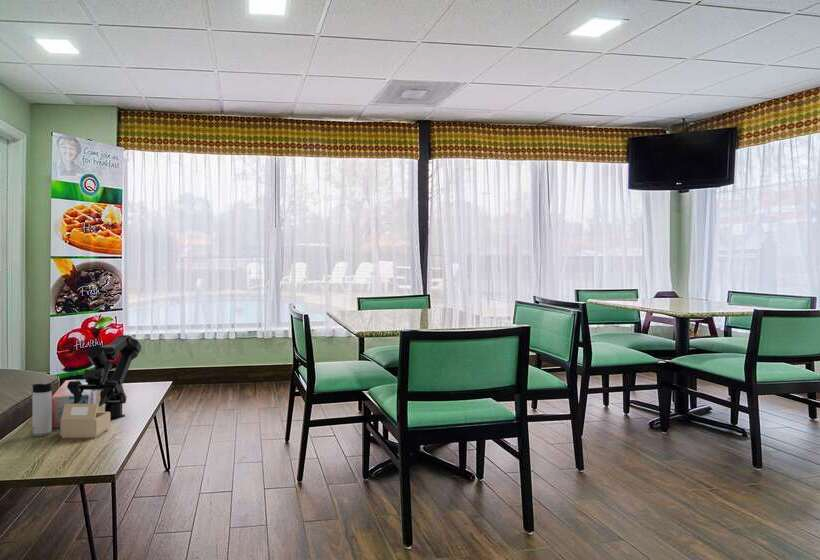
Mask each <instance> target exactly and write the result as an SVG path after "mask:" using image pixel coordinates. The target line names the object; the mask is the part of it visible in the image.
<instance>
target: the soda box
mask: <svg viewBox="0 0 820 560" xmlns="http://www.w3.org/2000/svg"><path fill="white" fill-rule="evenodd" d="M85 380H86V379H85V378H82V379H68V380H65V381H64V382H63V383H62V384H61V385H60V386H59V388H58V389H57V390H56V392H55V393H54V394H53V395H52V429H53V428H60V420H61V418H62V414H63V409H64V405H65V404H74V395H73V394H71V392H70V390H69V389H68V387H67V385H68V383H69V382H70V381H80V382H81V384H88V383H86V381H85ZM81 394H82V397H81V399H80V401H79V403H78V404H98V405H99V390H83V393H81Z"/></svg>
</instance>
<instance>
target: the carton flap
mask: <svg viewBox="0 0 820 560" xmlns="http://www.w3.org/2000/svg"><path fill="white" fill-rule="evenodd" d="M98 407H99V403H98V404H65V405H64V409H63V414H62V418H61V420H95V417H96V412H98Z"/></svg>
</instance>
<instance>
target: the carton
mask: <svg viewBox="0 0 820 560" xmlns="http://www.w3.org/2000/svg"><path fill="white" fill-rule="evenodd" d="M59 428H60V430H59V431H60V433H59V434H60V436H61V439H96V438H98V437H99V436H101V435H102V434H101V433H103V432H104V433H106V432H108V431H109V430H108V429H110V428H111V419H110V412H105V411H97V412H96V417H95V420H60V427H59ZM105 431H106V432H105ZM104 433H103V434H104ZM100 434H101V435H100ZM98 435H99V436H98ZM97 436H98V437H97ZM95 437H96V438H95Z"/></svg>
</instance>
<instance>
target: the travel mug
mask: <svg viewBox="0 0 820 560" xmlns="http://www.w3.org/2000/svg"><path fill="white" fill-rule="evenodd" d="M52 391H53V390H52V383H44V384H43V383H34V384H32V413H31V414H32V418H31V419H32V422H31V423H32V425H31V426H32V434H31V435H32V437H37V438H39V437H45V436H46V437H47V436H49V435H51V434H52V429H53V428H52V396H53V395H52Z"/></svg>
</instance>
